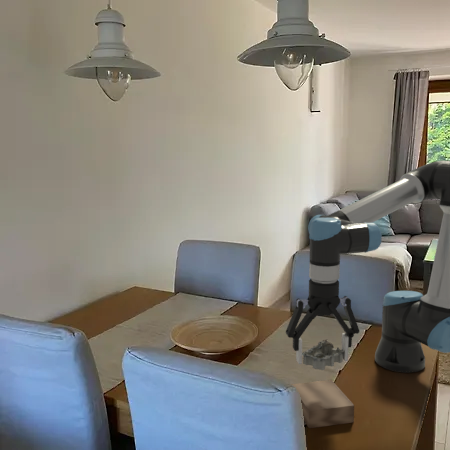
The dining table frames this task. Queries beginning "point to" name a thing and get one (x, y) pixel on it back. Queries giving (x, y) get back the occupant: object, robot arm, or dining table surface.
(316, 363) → the egg carton
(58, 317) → the dining table surface
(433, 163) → the robot arm
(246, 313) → the dining table surface
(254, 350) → the dining table surface
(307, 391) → the tan flat block
